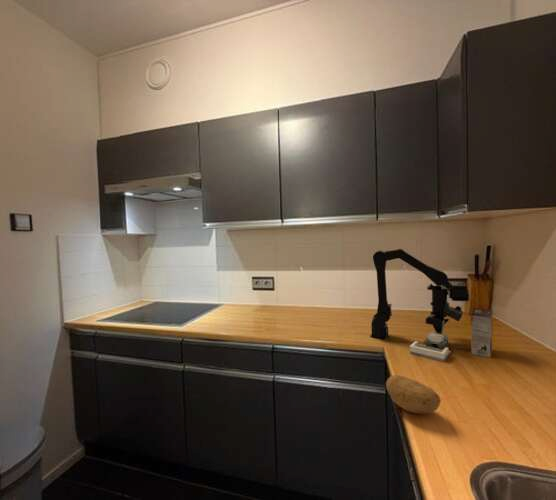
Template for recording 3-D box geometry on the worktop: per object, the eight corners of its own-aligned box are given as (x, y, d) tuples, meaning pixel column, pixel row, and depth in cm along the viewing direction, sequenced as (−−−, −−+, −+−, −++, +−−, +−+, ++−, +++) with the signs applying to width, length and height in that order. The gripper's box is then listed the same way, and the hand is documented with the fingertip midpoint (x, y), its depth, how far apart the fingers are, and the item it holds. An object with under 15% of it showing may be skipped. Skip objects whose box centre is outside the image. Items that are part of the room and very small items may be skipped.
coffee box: (473, 346, 120) (473, 307, 119) (492, 349, 116) (492, 309, 115) (470, 353, 113) (470, 312, 112) (491, 357, 109) (491, 315, 108)
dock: (409, 353, 115) (409, 346, 115) (418, 345, 123) (418, 338, 123) (443, 361, 107) (443, 353, 107) (450, 352, 115) (450, 344, 115)
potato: (430, 430, 71) (430, 399, 71) (379, 405, 82) (379, 377, 82) (447, 414, 77) (447, 384, 77) (397, 392, 88) (397, 366, 88)
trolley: (423, 345, 120) (423, 334, 120) (428, 341, 127) (428, 331, 127) (444, 350, 115) (445, 339, 115) (449, 346, 121) (449, 335, 121)
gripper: (456, 307, 112) (456, 347, 113) (465, 298, 125) (465, 333, 126) (425, 303, 119) (425, 341, 120) (437, 295, 133) (437, 328, 134)
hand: (439, 336), depth 125 cm, fingers closed
